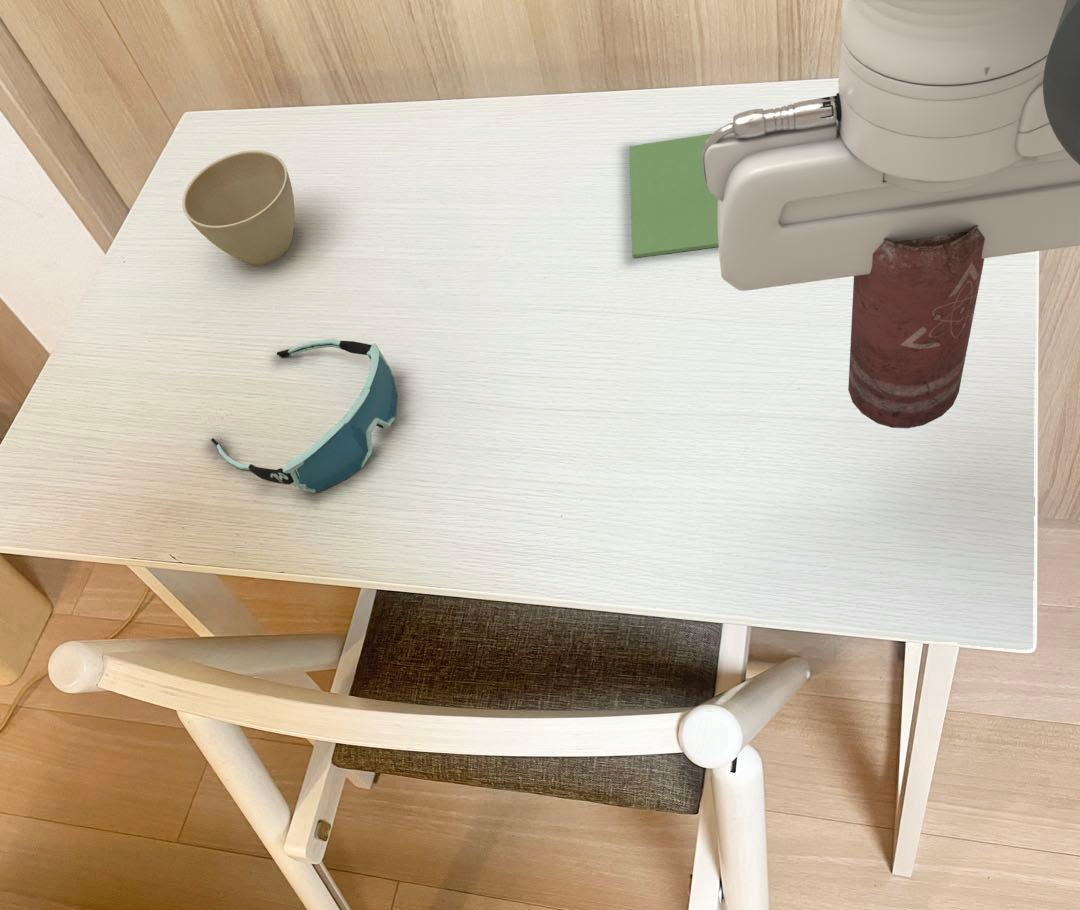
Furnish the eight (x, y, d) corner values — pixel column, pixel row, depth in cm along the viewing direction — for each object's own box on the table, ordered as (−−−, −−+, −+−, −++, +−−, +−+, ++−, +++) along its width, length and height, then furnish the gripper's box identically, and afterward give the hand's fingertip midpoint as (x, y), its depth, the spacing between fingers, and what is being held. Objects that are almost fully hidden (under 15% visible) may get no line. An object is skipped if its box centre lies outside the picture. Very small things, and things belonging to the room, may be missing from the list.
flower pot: (236, 301, 95) (199, 243, 89) (206, 241, 101) (169, 183, 95) (331, 251, 96) (301, 190, 90) (297, 194, 102) (266, 134, 96)
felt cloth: (830, 119, 92) (831, 115, 91) (851, 229, 85) (851, 225, 84) (630, 149, 95) (629, 146, 95) (633, 258, 88) (632, 254, 88)
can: (959, 349, 61) (995, 155, 49) (955, 435, 58) (992, 251, 46) (853, 346, 63) (863, 158, 51) (843, 430, 60) (852, 250, 48)
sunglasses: (340, 515, 80) (309, 477, 76) (212, 475, 87) (177, 438, 84) (431, 379, 85) (406, 337, 81) (303, 353, 93) (274, 313, 89)
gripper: (701, 169, 44) (724, 378, 55) (1237, 83, 40) (1141, 329, 51) (694, 77, 47) (717, 292, 58) (1188, -11, 43) (1108, 239, 54)
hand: (918, 309), depth 55 cm, fingers closed, pressing on can
